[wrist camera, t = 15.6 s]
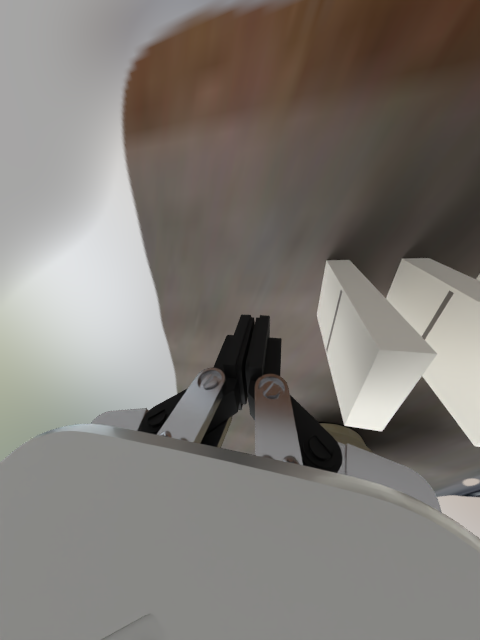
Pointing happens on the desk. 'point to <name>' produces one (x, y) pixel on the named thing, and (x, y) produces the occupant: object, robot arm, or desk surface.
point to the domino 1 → (367, 347)
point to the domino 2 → (445, 333)
